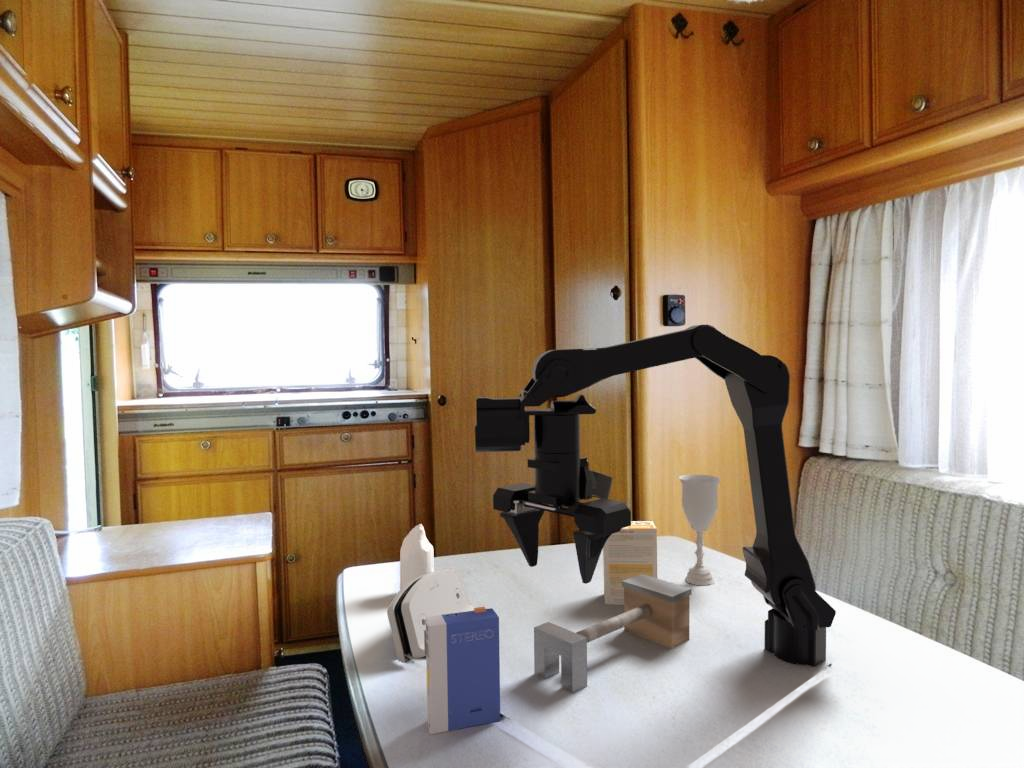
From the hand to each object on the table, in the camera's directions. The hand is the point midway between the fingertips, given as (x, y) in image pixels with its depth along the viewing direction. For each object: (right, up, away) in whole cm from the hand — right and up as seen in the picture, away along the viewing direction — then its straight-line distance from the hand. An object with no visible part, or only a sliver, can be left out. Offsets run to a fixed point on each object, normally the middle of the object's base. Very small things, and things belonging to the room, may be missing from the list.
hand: (558, 574), depth 85 cm
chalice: (+27, -11, +33) cm, 44 cm away
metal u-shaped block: (0, -13, -4) cm, 13 cm away
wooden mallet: (+9, -12, +4) cm, 16 cm away
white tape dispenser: (-17, -13, +11) cm, 24 cm away
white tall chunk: (-22, -12, +28) cm, 37 cm away
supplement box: (+13, -11, +22) cm, 28 cm away
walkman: (-11, -13, -11) cm, 21 cm away
